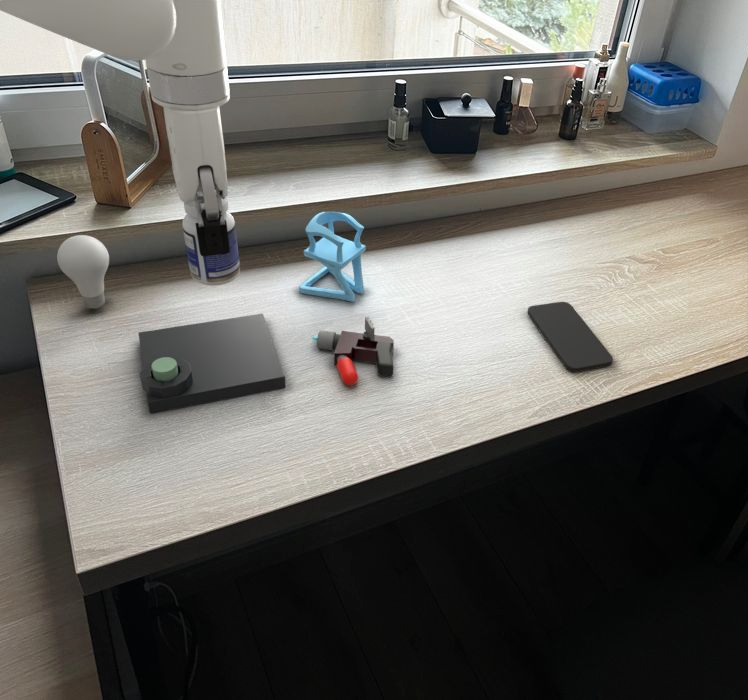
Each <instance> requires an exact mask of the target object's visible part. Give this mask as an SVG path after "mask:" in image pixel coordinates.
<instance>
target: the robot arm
mask: <svg viewBox="0 0 748 700" xmlns="http://www.w3.org/2000/svg"><path fill="white" fill-rule="evenodd" d="M221 7H222V6H221V0H0V11H1V12H3V13H6V14H8V15H10V16H12V17H15V18H17V19H19V20H22V21H24V22H27V23H29V24H31V25H33V26H36V27H39V28H41V29H44V30H46V31H49V32H51V33H53V34H55V35H59V36H61V37H63V38H66V39H68V40H71V41H73V42H77V43H78V44H80V45H83V46H86V47H88V48H91V49H94V50H96V51H99V52H101V53H104V54H105V55H108V56H111V57H114V58H117V59H119V60H124V61H133V62H136V61H145V67H146V72H147V78H148V84H149V89H150V93H151V94H150V96H151V100H152V101H153V102H154V103H155V104H156V105H158V106H160V107H163V113H164V114H163V115H164V122H165V129H166V130H165V131H166V136H167V141H168V142H167V143H168V147H169V153H170V154H169V155H170V160H171V167H172V173H173V178H174V183H175V186H176V190H177V193H178V194H177V195H178V197H179V200H180V201H181V202H182V203H183V204H184V203H188V201H194V202H195V208H196V214H197V220H198V223H195V224H196V231H197V237H198V244H199V251H200V255H201V256H213V255H221V254H228V253H229V252H230V247H229V239H228V231H227V222H226V220H225V219H224V212H223V206H222V199H223V200H224V199H225V198H226V197H227V198H228V195H229V189H228V174H227V162H226V152H225V151H226V150H225V142H224V133H223V125H222V117H221V108H220V107H221V106H224V105H225V104H227V103H228V102H229V100H230V99H231V95H230V83H229V75H228V66H227V56H226V55H227V54H226V46H225V37H224V28H223V27H224V25H223V18H222V8H221ZM199 191H202V193H203V196H199V197H198V195H197V192H199ZM215 191H216V193H215ZM221 197H222V198H221ZM200 203H204V204H205V209H204V210H203V211H202V210H201V204H200Z"/></svg>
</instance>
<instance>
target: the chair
mask: <svg viewBox="0 0 748 700" xmlns="http://www.w3.org/2000/svg"><path fill="white" fill-rule="evenodd" d="M338 221H341V222H345V223H347V224H349V225H350V226H351V227H352V228H354V229H355V230H356V234H355V236H354V239H353V240H349V239H346V238H344V237H341V236H339V235H337V234H335V230H334V222H338ZM325 224H327V227H326V226H325ZM364 229H365V226H363V225H362V224H360V223H359V222H358V221H357V220H356V219H355V218H354V217H353V216H351V215H350V214H349V213H344V212H339V211H322V212H319V213H317V214H316V215H314V216H313V217H312V219H311V220H310V221H309V222H308V224H307V226H306V227H305V233H306V235H307V238H308V241H309V246H308V247H307V248H306V249H304V250H303V255H304V257H306V258H308V259H311V260H314V261H316V262H318V263H320V264H322V265H323V266H324V267H322V268H321V269H320V270H318V271H317V272H316V273H314V274H313V275H312V276H311V277H309V278H308V279H306V281H304V282H303V283H302V284H300V285H299V286H298V288H299V293H302V294H304V295H305V294H306V295H309V296H311V295H312V296H317V297H324V298H331V299H337V300H342V301H347V302H353V303H354V302H355V301H356V295H355V292H356V293H357V294H361V295H362V294H365V287H364V286H365V285H364V279H363V278H364V277H363V270H362V254H363V253H365V252H366V251H367V249H366V248H367V247H366V244H363V243H361V236H362V233H363V230H364ZM314 237H322V238H320V239H319V240H318V241H316V239H315V238H314ZM350 263H351V265H352V271H353V279H352V278H350V276H347V275H346V274H345V273H343V272H342V270H343V269H344V268H346V267H347V266H348V265H349V264H350ZM328 273H329V274H331V275H333V276H334V278H335V280H336V281H337V282H338V284H339V286H340V287H341V289H342V290H338V289H329V288H322V287H315V286H312V285H314V284H315V283H316V282H318V281H319V280H320V279H321V278H322V277H324V276H325V275H326V274H328Z"/></svg>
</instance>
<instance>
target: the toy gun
mask: <svg viewBox="0 0 748 700" xmlns="http://www.w3.org/2000/svg"><path fill="white" fill-rule="evenodd" d="M317 333H318V334H317V336H314V337H311V339H312V340H314V341H316V348H317V349H318V350H319V349H320V350H329V351H334V352H333V364H334V365H333V366H336V368H337V370H338V373H339V376H340V378H341V381H342V383H343V384H344V385H347V386H353V385H355V384H356V383H357V382H358V381H359V375H358V372H357V369H356V366H355V365H354V363H353V361H356V362H363V363H372V364H375V365H376V372H377V375H378V376H381V377H389V378H391V377H393V376H394V363H393V362H394V361H393V355H394V346H395V345H394V344H395V339H393V338H392V337H391V336H387V335H380V334H375V325H374V324H373V322H372V320H371V319H370V317H369V316H364V331H363V333H362V332H356V331H355V332H354V331H346V330H341V332H340V333H337V332H336V331H329V330H321V329H320V330H318V332H317Z"/></svg>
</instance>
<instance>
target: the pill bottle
mask: <svg viewBox="0 0 748 700" xmlns="http://www.w3.org/2000/svg"><path fill="white" fill-rule="evenodd" d="M215 193H216V190H215ZM197 195H198V197H199V196H203V193H202V191H199V192H197ZM221 198H222V197H221ZM200 204H201V210H202V211H203V210H204V209H205V204H204V203H200ZM222 206H223V212H224V219H225V220H226V222H227V231H228V239H229V247H230V252H229V253H228V254H221V255H213V256H201V255H200V251H199V244H198V237H197V231H196V224H195V223H198V220H197V214H196V208H195V202H194V201H188V203H184V202H183V207H184V212H185V216H184V217H183V219H182V221H181V222H182V223H181V224H182V232H183V238H184V243H185V249H186V257H187V263H188V267H189V272H190V276H191V278H192V279H193V281H195V282H196V283H198V284H201V285H205V286H212V287H213V286H214V287H215V286H222V285H225V284H229V283H231V282H233V281H234V280H235V279H237V278H238V276H239V275H240V272H241V264H240V255H239V248H238V240H237V239H238V237H237V230H236V221H235V218H234V216H233V215H232V213H230V212H229V211H228V210H229V208H230V207H229V201H228V196H227V197H226V198H225V199H224V200H223V199H222Z"/></svg>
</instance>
